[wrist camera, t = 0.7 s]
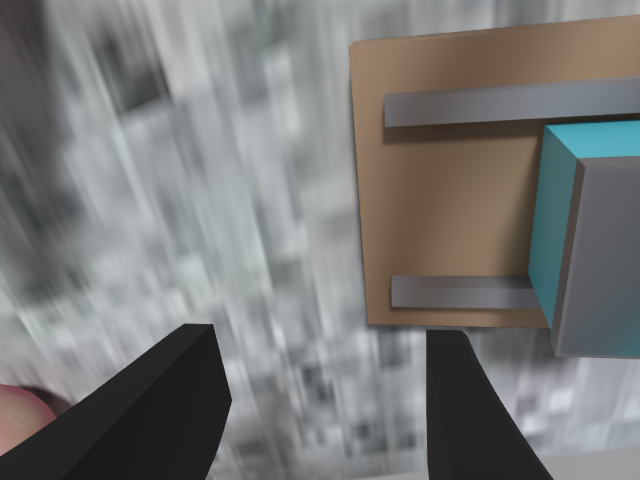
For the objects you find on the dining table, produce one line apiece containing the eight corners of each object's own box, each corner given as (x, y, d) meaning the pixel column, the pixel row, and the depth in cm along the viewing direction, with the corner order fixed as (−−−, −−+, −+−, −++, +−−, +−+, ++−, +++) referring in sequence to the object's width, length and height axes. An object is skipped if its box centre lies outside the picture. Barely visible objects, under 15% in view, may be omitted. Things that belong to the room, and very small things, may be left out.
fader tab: (666, 113, 13) (760, 160, 10) (629, 275, 15) (694, 361, 12) (541, 120, 14) (585, 167, 10) (524, 275, 16) (555, 356, 12)
